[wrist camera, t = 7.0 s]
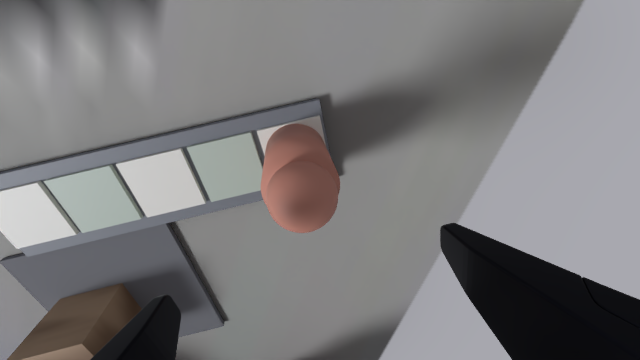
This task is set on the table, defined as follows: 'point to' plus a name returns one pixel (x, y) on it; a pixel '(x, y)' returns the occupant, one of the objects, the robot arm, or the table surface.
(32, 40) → the table surface
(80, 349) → the tan cardboard cube
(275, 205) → the pawn
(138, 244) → the mat
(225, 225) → the table surface
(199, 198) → the board
